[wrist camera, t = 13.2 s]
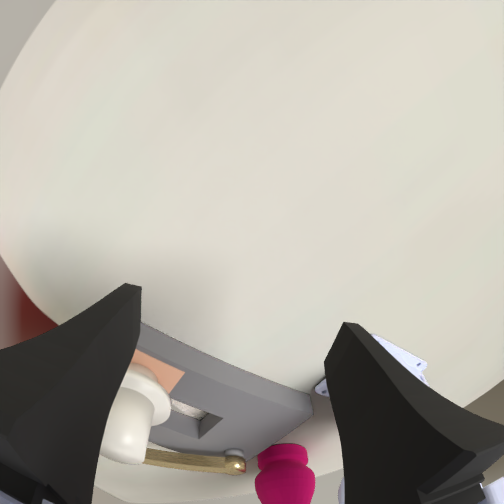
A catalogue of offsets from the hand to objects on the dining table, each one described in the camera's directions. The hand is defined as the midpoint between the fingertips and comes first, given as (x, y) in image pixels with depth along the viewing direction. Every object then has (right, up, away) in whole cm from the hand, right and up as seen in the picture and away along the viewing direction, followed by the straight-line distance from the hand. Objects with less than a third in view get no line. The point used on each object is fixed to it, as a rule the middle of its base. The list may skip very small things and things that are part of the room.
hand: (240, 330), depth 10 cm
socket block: (-6, -12, +17) cm, 21 cm away
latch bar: (-9, -19, +16) cm, 26 cm away
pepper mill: (+4, -23, +22) cm, 32 cm away
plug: (-9, -8, +12) cm, 17 cm away
